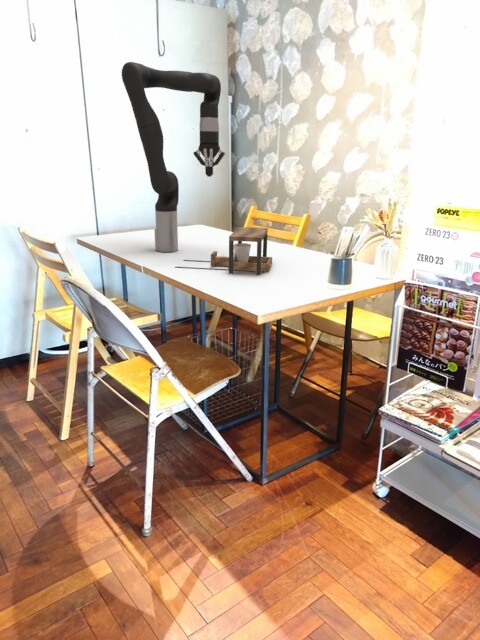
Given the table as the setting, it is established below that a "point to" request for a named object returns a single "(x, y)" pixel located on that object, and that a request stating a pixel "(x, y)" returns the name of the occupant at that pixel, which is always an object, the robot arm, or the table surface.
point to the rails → (212, 268)
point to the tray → (242, 266)
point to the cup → (241, 252)
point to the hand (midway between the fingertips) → (209, 176)
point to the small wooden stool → (250, 236)
